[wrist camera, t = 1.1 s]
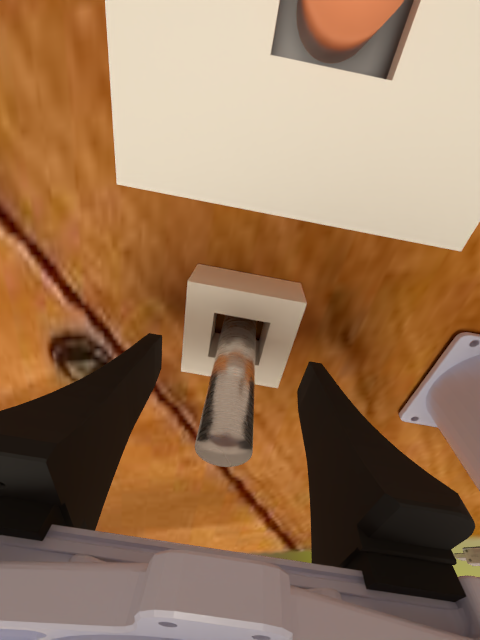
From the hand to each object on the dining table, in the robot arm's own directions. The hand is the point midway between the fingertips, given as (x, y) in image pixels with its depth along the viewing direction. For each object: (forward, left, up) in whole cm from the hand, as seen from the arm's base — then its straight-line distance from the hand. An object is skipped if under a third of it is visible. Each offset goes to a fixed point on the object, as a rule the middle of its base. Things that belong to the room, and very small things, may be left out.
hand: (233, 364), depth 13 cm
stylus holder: (0, 0, -5) cm, 5 cm away
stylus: (0, 0, -5) cm, 5 cm away
